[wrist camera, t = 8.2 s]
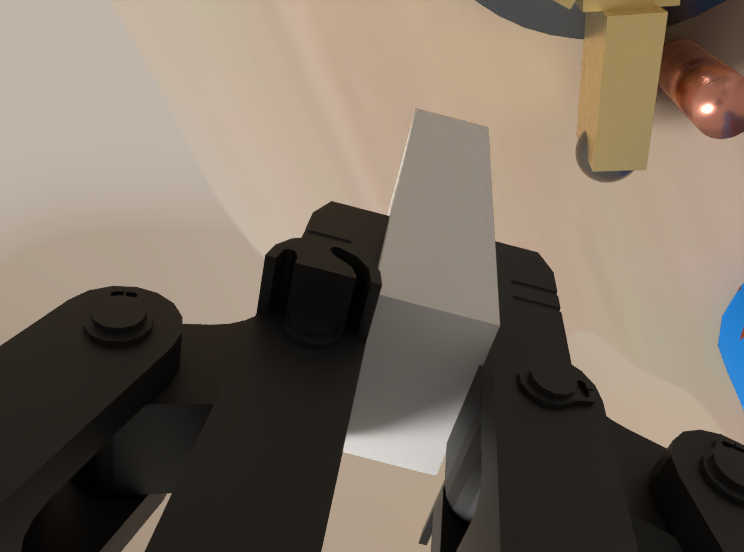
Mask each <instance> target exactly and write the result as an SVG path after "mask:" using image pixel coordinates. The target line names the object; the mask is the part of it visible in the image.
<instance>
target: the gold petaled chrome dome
mask: <svg viewBox="0 0 744 552" xmlns="http://www.w3.org/2000/svg"><path fill="white" fill-rule="evenodd" d="M553 1H555V2H557V3H559V4H561V5H563V6H565V7H566V8H568V9H571V7H572V6H573V4H574V3H575V4H576V5H577V6H578V7H579V9H580V10H581V11H582V12H586V19H585V32H584V45H583V58H582V71H581V84H580V96H579V109H578V122H577V136H578V138H579V139H578V142H577V145H576V160H577V163H578V165H579V167H580V169H581V170H582V171H583V173H584V174H586V175H587V176H588V177H589V178H591V179H593V180H596V181H599V182H615V181H619V180H621V179H624V178H625V177H627V176H628V175H630V174H631V173H632V172H633V171H634V170H646V167H647V160H648V153H649V146H650V138H651V131H652V124H653V117H654V110H655V102H656V95H657V88H658V81H659V74H660V66H661V59H662V52H663V45H664V38H665V30H666V23H667V16H668V12H667V11H666V10H664V9H663V8H661V7H663V6H678V5H680V0H553ZM693 1H694V0H693Z"/></svg>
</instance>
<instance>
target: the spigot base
mask: <svg viewBox="0 0 744 552" xmlns="http://www.w3.org/2000/svg"><path fill="white" fill-rule="evenodd" d="M475 1H477V2H478V3H480V4H481V5H483V6H484V7H486V8H488V9H489V10H491V11H492V12H494V13H495V14H497V15H499V16H500V17H503V18H505V19H507V20H509V21H511V22H514V23H516V24H518V25H520V26H522V27H525V28H528V29H532V30H535V31H539V32H542V33H546V34H549V35H555V36H562V37H569V38H576V39H584V32H585V19H586V12H582V11H581V10H580V9H579V7H578V6H577V5H576V4H575V3H574V4H573V6H572V7H571V9H568V8H566V7H565V6H563V5H561V4H559V3H557V2H555V1H553V0H475ZM724 1H725V0H694V1H693V0H680V5H678V6H663V7H661V8H663V9H664V10H666V11H667V12H668V16H667V23H666V27H668V26H671V25H674V24H676V23H679V22H681V21H684V20H687V19H689V18H692V17H695V16H696V15H698V14H700V13H702V12H704V11H706V10H708V9H710V8H712V7H714V6H716V5H718V4H720V3H722V2H724ZM658 85H659V87H660V88H661V89H662V90H663V91H664V92H665V93H666V94H667V95H668V96H669V97H670V98H671V100H672V101H673V102H674V103H675V104H676V105H677V106H678V107H679V108H680V109H681V110H682V111H683V112H684V114H685V115H686V116H687V117H688V118H689V119H690V120H691V121H692V122H693V123H694V124H695V125H696V126H697V128H698V129H699V130H700V131H701V132H702V133H703V134H705V135H707V136H709V137H711V138H716V139H726V138H731V137H734V136H736V135H739V134H740V133H742V132H744V77H743V76H742V75H740V74H739V73H737V72H736V71H735V70H733V69H732V68H730V67H729V66H728V65H726V64H725V63H723V62H722V61H721V60H719V59H718V58H716V57H715V56H714V55H712V54H711V53H709V52H708V51H707V50H705V49H704V48H703V47H701V46H700V45H698V44H697V43H695V42H694V41H692V40H689V39H677V40H673V41H671V42H669V43H667V44H665V45H664V46H663V52H662V59H661V66H660V74H659V81H658Z"/></svg>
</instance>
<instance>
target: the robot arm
mask: <svg viewBox="0 0 744 552" xmlns="http://www.w3.org/2000/svg"><path fill="white" fill-rule="evenodd" d="M559 311H560V303H559V298H558V296H557V288H556V283H555V278H554V272H553V271H552V270H551V269H550V267H549V266H548V265H547V263H546V262H545V261H544V259H543V258H542V257H541V256H540V254H539V253H538V252H534V251H530V250H526V249H523V248H519V247H515V246H511V245H507V244H503V243H500V242H496V241H495V232H494V215H493V198H492V181H491V164H490V147H489V130H488V127H485V126H482V125H478V124H474V123H470V122H466V121H462V120H459V119H455V118H451V117H447V116H443V115H439V114H436V113H432V112H428V111H424V110H420V109H417V108H416V110H415V113H414V117H413V121H412V125H411V128H410V132H409V136H408V140H407V143H406V147H405V151H404V155H403V159H402V162H401V166H400V170H399V174H398V177H397V181H396V185H395V189H394V192H393V196H392V200H391V204H390V207H389V211H388V215H383V214H379V213H375V212H371V211H367V210H364V209H360V208H356V207H352V206H348V205H344V204H341V203H337V202H333V201H331V202H330V203H328V204H326V205H325V206H323V207H321V208H320V209H318V210H316V211H315V212H313V214H312V216H311V218H310V220H309V223H308V225H307V227H306V229H305V232H304V234H303V236H302V238H292V239H289V240H287V241H284V242H281V243H279V244H276V245H275V246H274V247H273V248H272V249H271V250H270V251H269V252H268V253H267V254H266V255H265V261H264V268H263V274H262V281H261V287H260V294H259V301H258V308H257V314H256V316H254V317H252V318H250V319H247V320H245V321H240V322H236V323H231V324H220V325H219V324H218V325H201V324H182V316H181V314H180V313H179V311H178V309H177V308H176V306H175V305H174V303H172V302H171V301H169V300H168V299H166V298H164V297H163V296H161V295H160V294H158V293H156V292H152V291H148V290H145V289H142V288H138V287H124V286H110V287H105V288H100V289H94V290H89V291H87V292H84V293H82V294H80V295H78V296H76V297H74V298H72V299H69V300H68V301H66V302H65V303H63V304H62V305H60V306H59V307H57V308H56V309H54V310H53V311H51V312H50V313H48V314H47V315H46V316H44V317H42V318H41V319H39V320H38V321H37V322H35V323H33V324H32V325H31V326H29V327H28V328H26V329H25V330H23V331H22V332H20V333H19V334H17V335H16V336H14V337H13V338H11V339H10V340H8V341H7V342H5V343H4V344H2V345H1V346H0V552H121V551H122V550H123V549H124V547H125V546H126V545H127V544H128V542H129V541H130V540H131V539H132V538H133V536H134V535H135V534H136V533H137V532H138V530H139V529H140V528H141V527H142V525H143V524H144V523H145V522H146V520H147V519H148V518H149V517H150V516H151V514H152V513H153V512H154V511H155V510H156V509H157V507H158V506H159V505H160V504H161V503H162V501H163V500H164V498H165V496H166V494H167V493H172V495H171V497H170V499H169V501H168V503H167V505H166V507H165V509H164V512H163V514H162V516H161V518H160V520H159V523H158V525H157V526H156V529H155V531H154V533H153V535H152V537H151V539H150V541H149V543H148V546H147V548H146V550H145V552H321V549H322V546H323V541H324V536H325V532H326V527H327V522H328V518H329V513H330V508H331V504H332V499H333V494H334V489H335V485H336V481H337V475H338V471H339V467H340V462H341V457H342V453H343V452H345V453H349V454H353V455H357V456H361V457H365V458H369V459H373V460H377V461H380V462H384V463H388V464H392V465H396V466H400V467H404V468H408V469H412V470H416V471H420V472H424V473H428V474H432V475H435V476H436V474H437V472H438V470H439V467H440V465H441V463H442V461H443V458H444V456H445V454H446V469H445V480H444V483H443V485H442V487H441V490H440V492H439V494H438V496H437V499H436V501H435V503H434V505H433V508H432V510H431V512H430V514H429V517H428V519H427V521H426V524H425V526H424V528H423V531H422V534H421V537H420V540H419V543H420V544H423V545H427V543H428V541H429V539H430V537H431V534H432V542H431V552H744V445H742V444H740V443H738V442H736V441H734V440H732V439H730V438H728V437H725V436H723V435H721V434H716V433H712V432H708V431H704V430H694V431H685V432H683V433H681V434H680V435H679V436H678V437H676V438H675V439H674V440H673V441H672V443H671V444H670V445H669V447H668V448H664V447H662V446H660V445H658V444H656V443H654V442H652V441H650V440H648V439H646V438H644V437H642V436H640V435H638V434H636V433H634V432H632V431H630V430H628V429H626V428H625V427H623V426H621V425H620V424H618V423H616V422H614V421H612V420H611V419H610V418H608V417H607V416H606V413H605V408H604V404H603V401H602V399H601V397H600V395H599V392H598V390H597V388H596V386H595V385H594V384H593V383H592V382H591V381H590V380H589V379H588V378H587V377H586V375H585V374H584V373H583V372H582V371H580V370H579V369H578V368H576V367H574V366H573V365H572V364H571V359H570V354H569V349H568V344H567V339H566V334H565V329H564V324H563V318H562V313H561V312H559Z"/></svg>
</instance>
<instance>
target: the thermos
mask: <svg viewBox="0 0 744 552" xmlns="http://www.w3.org/2000/svg"><path fill="white" fill-rule="evenodd" d="M718 347H719V349H720V352H721V355H722V358H723V361H724V364H725V366H726V369H727V372H728V374H729V377H730V379H731V381H732V384H733V386H734V388H735V391H736V393H737V395H738V398H739V400H740V402H741V405H742V407H743V409H744V284H743V285H742V286H741V287H740V288H739V290H738V291H737V293H736V295H735V296H734V298H733V300H732V301H731V303H730V305H729V306H728V308H727V309H726V311H725V313H724V314H723V316H722V322H721V329H720V336H719V342H718Z"/></svg>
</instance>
